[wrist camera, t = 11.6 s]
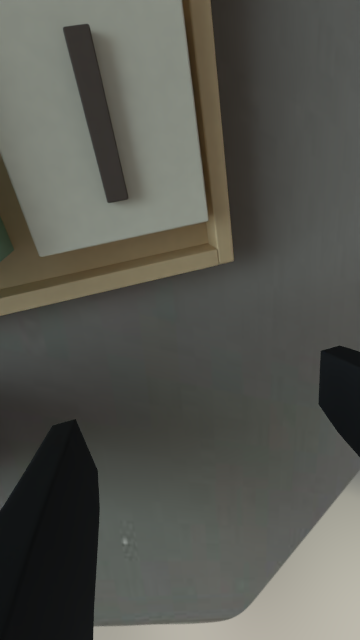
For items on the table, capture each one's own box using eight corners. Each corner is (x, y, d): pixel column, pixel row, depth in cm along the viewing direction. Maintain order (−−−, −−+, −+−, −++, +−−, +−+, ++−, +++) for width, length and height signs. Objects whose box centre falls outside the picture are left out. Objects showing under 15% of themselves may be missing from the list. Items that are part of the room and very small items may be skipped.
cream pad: (49, 244, 14) (36, 261, 12) (-32, 18, 11) (-77, -33, 8) (194, 214, 15) (213, 223, 13) (163, -7, 12) (181, -60, 9)
